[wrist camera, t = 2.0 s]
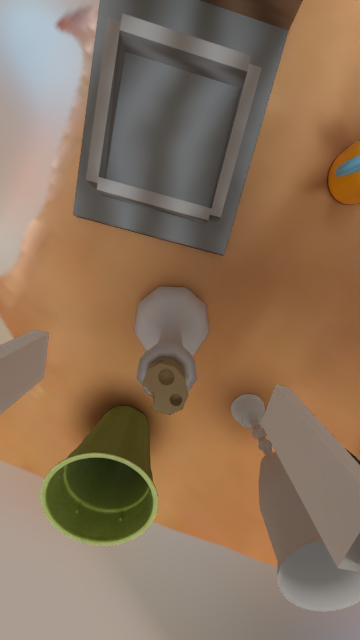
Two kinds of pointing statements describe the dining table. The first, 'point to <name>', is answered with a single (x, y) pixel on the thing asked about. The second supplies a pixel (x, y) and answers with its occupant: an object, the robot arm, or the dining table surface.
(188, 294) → the potion bottle
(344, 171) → the orange ring-handled vase
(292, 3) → the ledge nook
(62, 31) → the dining table surface
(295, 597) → the chalice
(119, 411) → the plant pot
